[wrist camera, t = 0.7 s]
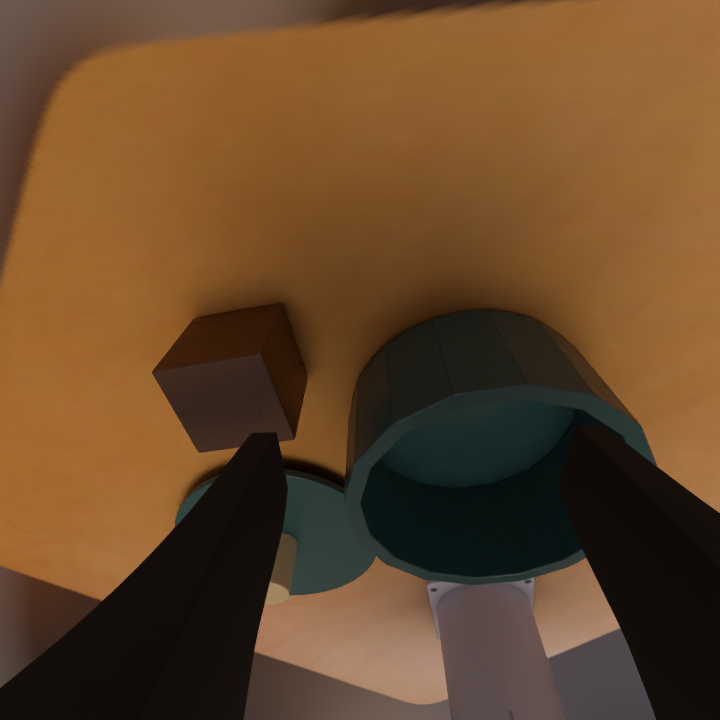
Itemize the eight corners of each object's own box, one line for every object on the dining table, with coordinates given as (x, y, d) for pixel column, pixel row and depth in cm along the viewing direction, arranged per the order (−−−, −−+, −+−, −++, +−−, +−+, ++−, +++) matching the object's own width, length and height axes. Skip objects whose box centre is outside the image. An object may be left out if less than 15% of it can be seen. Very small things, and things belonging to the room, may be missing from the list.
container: (575, 475, 24) (628, 572, 19) (373, 499, 26) (375, 594, 21) (599, 287, 18) (688, 360, 13) (326, 334, 19) (312, 415, 14)
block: (307, 379, 21) (295, 439, 17) (227, 391, 21) (198, 453, 18) (282, 302, 18) (260, 353, 15) (193, 319, 19) (150, 372, 15)
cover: (392, 572, 30) (396, 637, 27) (225, 588, 32) (207, 651, 28) (356, 445, 23) (354, 511, 20) (144, 474, 25) (105, 539, 21)
